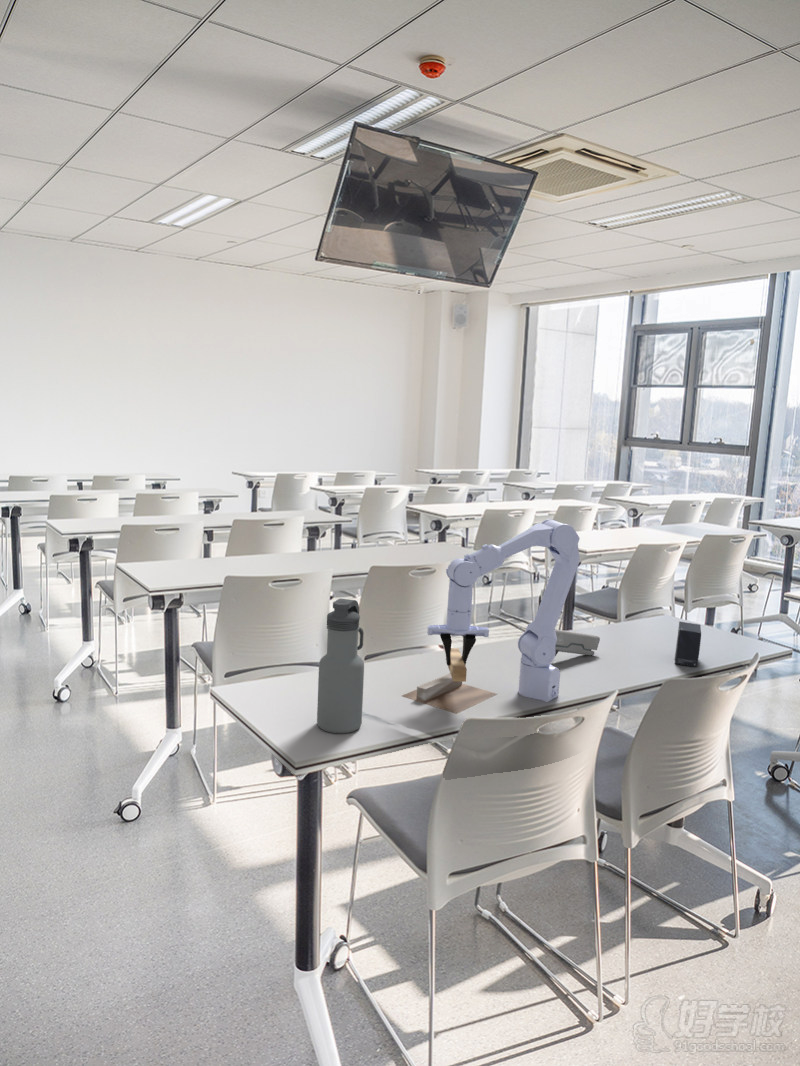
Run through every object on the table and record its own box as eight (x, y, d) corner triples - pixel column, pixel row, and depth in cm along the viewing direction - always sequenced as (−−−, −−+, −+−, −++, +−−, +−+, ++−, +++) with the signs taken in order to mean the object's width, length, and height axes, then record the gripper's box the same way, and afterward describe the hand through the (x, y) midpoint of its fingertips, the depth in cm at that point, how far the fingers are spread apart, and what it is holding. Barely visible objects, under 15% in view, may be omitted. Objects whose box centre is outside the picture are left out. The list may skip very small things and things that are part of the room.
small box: (698, 668, 232) (702, 632, 230) (674, 664, 234) (678, 629, 232) (697, 657, 242) (701, 623, 240) (674, 654, 244) (678, 620, 242)
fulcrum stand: (497, 697, 199) (498, 682, 199) (456, 717, 185) (457, 700, 185) (443, 682, 209) (444, 667, 208) (401, 699, 195) (401, 683, 194)
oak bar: (445, 659, 203) (446, 648, 203) (457, 660, 203) (458, 648, 203) (453, 681, 187) (453, 668, 187) (465, 681, 187) (466, 669, 187)
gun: (529, 661, 226) (537, 626, 226) (587, 667, 241) (595, 635, 241) (535, 663, 224) (543, 628, 224) (593, 670, 239) (601, 637, 239)
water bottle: (327, 713, 184) (331, 593, 179) (368, 720, 181) (373, 598, 177) (309, 730, 174) (314, 603, 170) (352, 737, 171) (358, 608, 167)
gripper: (430, 612, 188) (427, 668, 191) (492, 614, 189) (488, 670, 191) (428, 605, 195) (424, 659, 198) (487, 607, 196) (483, 661, 198)
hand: (455, 664), depth 195 cm, fingers closed on oak bar, 3 cm apart
